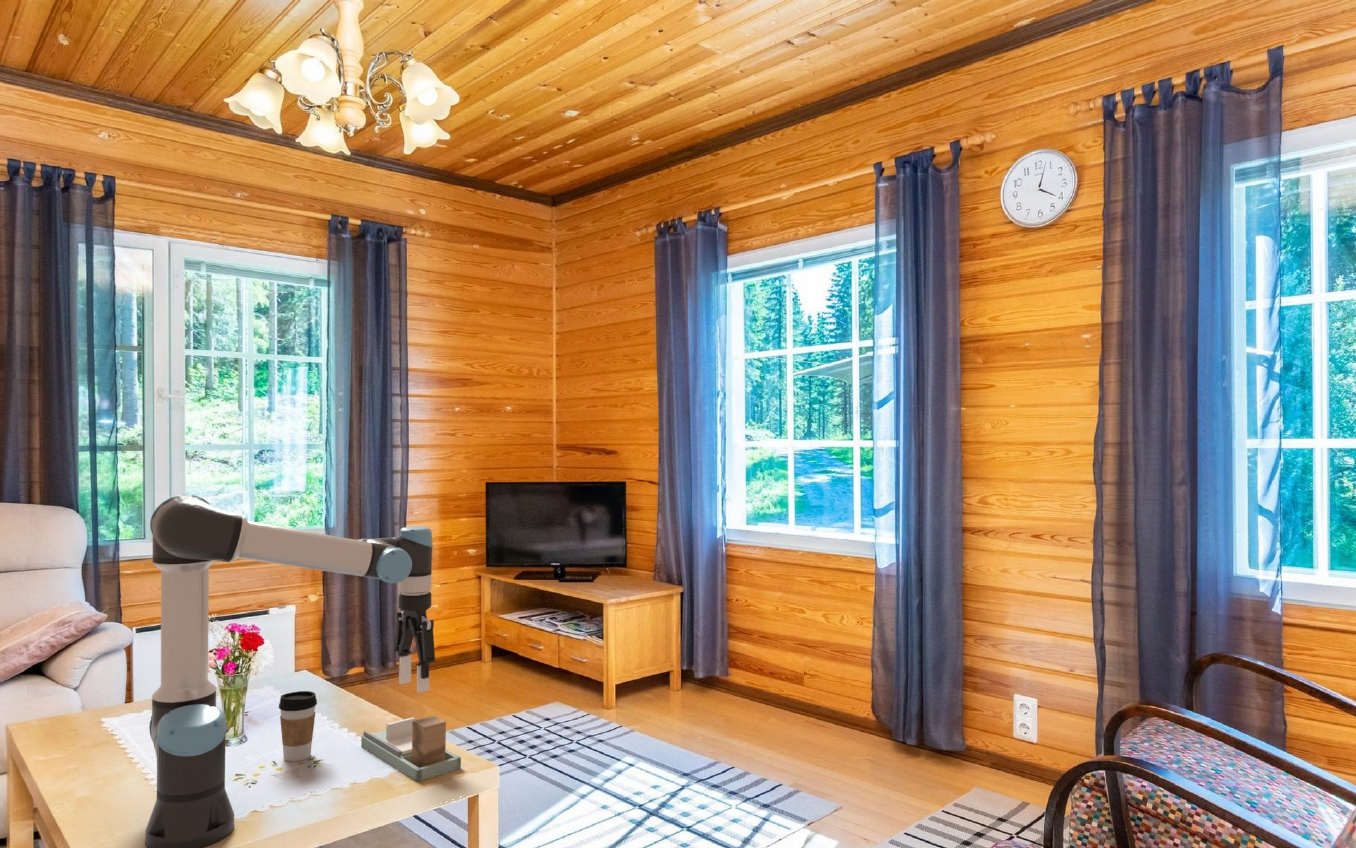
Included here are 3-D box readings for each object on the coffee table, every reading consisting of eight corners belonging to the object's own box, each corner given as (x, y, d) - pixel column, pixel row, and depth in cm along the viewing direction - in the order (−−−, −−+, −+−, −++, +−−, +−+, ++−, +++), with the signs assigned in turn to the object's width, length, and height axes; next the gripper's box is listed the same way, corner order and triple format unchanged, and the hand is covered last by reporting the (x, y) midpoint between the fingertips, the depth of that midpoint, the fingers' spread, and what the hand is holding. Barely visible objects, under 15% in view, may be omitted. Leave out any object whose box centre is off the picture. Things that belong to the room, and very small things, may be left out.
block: (445, 768, 201) (445, 721, 201) (423, 775, 198) (424, 727, 197) (433, 761, 205) (433, 715, 205) (411, 768, 201) (412, 721, 201)
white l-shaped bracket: (433, 746, 208) (433, 726, 208) (402, 755, 202) (402, 734, 202) (414, 736, 214) (415, 716, 214) (384, 744, 208) (384, 724, 208)
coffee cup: (269, 759, 205) (270, 696, 205) (300, 747, 212) (301, 686, 212) (294, 766, 201) (294, 702, 201) (324, 754, 208) (325, 692, 208)
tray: (460, 768, 202) (460, 752, 202) (417, 781, 194) (417, 765, 194) (402, 735, 222) (403, 721, 222) (361, 746, 214) (361, 731, 214)
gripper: (452, 597, 202) (450, 694, 202) (408, 583, 216) (407, 674, 217) (422, 601, 196) (420, 701, 197) (380, 587, 211) (378, 680, 211)
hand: (413, 687), depth 207 cm, fingers open, 8 cm apart
